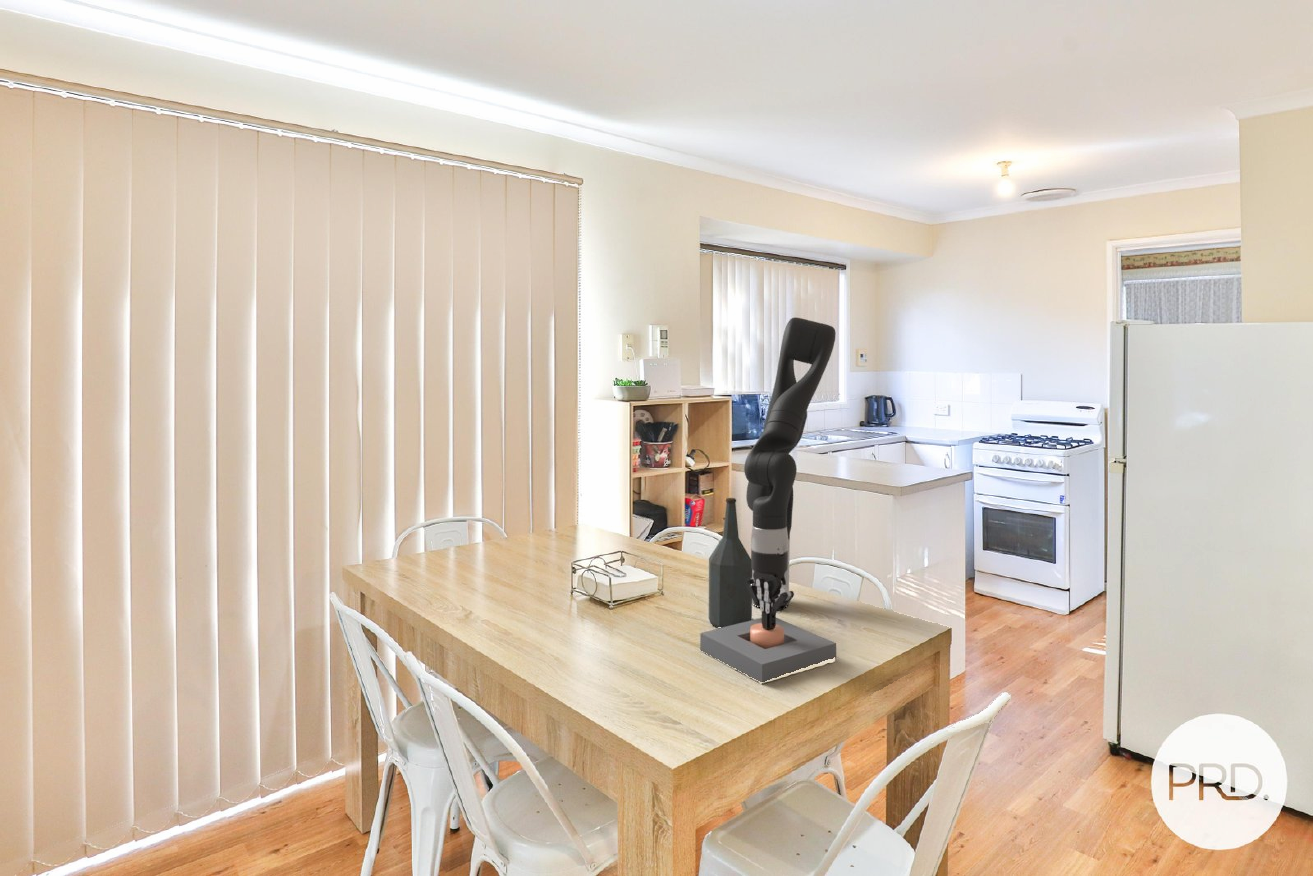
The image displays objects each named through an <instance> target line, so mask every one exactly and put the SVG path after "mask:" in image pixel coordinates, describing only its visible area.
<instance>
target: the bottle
mask: <svg viewBox="0 0 1313 876" xmlns="http://www.w3.org/2000/svg"><path fill="white" fill-rule="evenodd" d="M725 502H726V503H725V505H726V506H725V513H724V521H723V533H722V538H720V540H719V542H718V544H717V545H716V546H715V549H714V550H713V551H712V552H711V555H710V556H709V558H708V620H709V623H710V624H712V625H714V626H716V627H715V628H717V627H721V628H722V627H727V626H731V625H735V624H739V623H743V622H747V621H751V620H753V619H752V618H753V617H752V616H753V604H752V597H751V594H750V592H749V590H748V587H747V585H746V580H747V579H751V578H752V568H751V555H749V553H748V551H747V549H746V548H745V546H744V544H743V543H742V541H741V540H740V538H739V527H738V517H737V505H736V503H737V499H736V498H734V497H726V499H725ZM712 625H711V626H712ZM714 626H713V627H714Z"/></svg>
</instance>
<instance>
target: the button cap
mask: <svg viewBox="0 0 1313 876" xmlns="http://www.w3.org/2000/svg"><path fill="white" fill-rule="evenodd" d="M750 642H751V643H753V644H755V645H757V646H759V647H761V648H763V649H768V648H771V647H775V646H779V645H782V644H784V628H783V627H782V626H780V625H777V624H776V626H775V628H774V629H772V630H766V629H764V628H763V627H762V623H758V624H754V625H752V626H751V627H750Z"/></svg>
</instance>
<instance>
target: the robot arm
mask: <svg viewBox="0 0 1313 876" xmlns="http://www.w3.org/2000/svg"><path fill="white" fill-rule="evenodd" d="M835 342H836V329H835V328H834V326H832V325H830V324H826V323H822V322H818V321H813V320H809V319H805V318H801V317H792V318H790V319H789V320H788V322H787V323H786V326H785V329H784V331H783V335H782V339H781V345H780V351H779V352H780V353H779V357H778V358H779V359H778V365H777V369H776V376H775V380H774V381H775V382H774V385H773V389H772V393H771V396H770V400H769V404H768V408H767V412H766V416H765V420H764V425H763V431H762V433H761V435H760V436H759V437H758V439H757V440H756V443H754V445H753V447H752V448H751V449H750V451H749V453H748V455H747V457H746V458H745V462H744V465H743V466H744V469H743V471H744V476H745V478H746V480H747V481H748V483H747V487H746V496H745V497H746V505H747V507H748V508H749V510H751V511H752V528H751V529H752V530H751V537H750V539H751V541H750V543H751V544H750V547H751V548H750V551H751V552H750V558H751V568H752V578H751V579H747V580H746V585H747V587H748V590H749V592H750V594H751V597H752V605H753V604H754V605H756V606H758V607H760V608H759V609H760V611H761V618H762V627H763V628H764V629H766V630H772V629H774V628H775V626H776V618H777V613H778V612H782V611H784V610H785V609H786V608H787V607H786V606H787V605H788V604H790V602H791V600H792V599H793V598H794V596H795V593H794V591H793V590H790V553H791V552H790V547H791V546H790V545H791V542H790V540H791V537H790V536H791V530H792V523H793V509H794V488H793V486H794V483H795V482H796V481H795V480H796V477H797V473H798V472H797V470H798V469H797V464H796V460H795V459H794V457H793V456H792V455H791V454H790V453H791V452H792V451H793V450H794V449H795V448H796V447H797V445H798V444H799V443H800V441H801V440H802V437H803V434H804V430H805V426H806V422H807V418H808V408H809V405H810V403H811V401H812V400H813V397H814V395H815V393H816V391H817V389H818V387H819V384H820V382H821V380H822V378H823V376H824V373H825V370H826V368H827V366H828V363H829V361H830V358H831V357H832V353H833V351H834V350H833V349H834V346H835ZM794 361H797V362H800V363H804V364H807V365H808V364H809V365H810V367H809V369H808V370H807V372H806V373H805V374H804V375H803V376H802V377H801V378H800V379H799V380H798V381H797V379H796V375H795V362H794ZM754 605H753V606H754ZM788 606H789V605H788ZM758 607H757V608H758ZM785 607H786V608H785Z"/></svg>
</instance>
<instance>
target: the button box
mask: <svg viewBox="0 0 1313 876" xmlns="http://www.w3.org/2000/svg"><path fill="white" fill-rule="evenodd" d="M758 623H762V617H760V618H755V619H752V620H751V621H747V622H743V623H739V624H735V625H731V626H727V627H722V628H714V629H711V630H707V631H702V632H700V633H699V635H700V636H699V637H700V638H699V640H700V642H699V643H700V644H699V646H700V647H699V649H700V650H701V651H703V652H705V653H707V654H708V655H707V654H706V655H707V656H709V655H711V656H712V657H714V658H716V659H719V660H720V661H722V662H724V663H725V664H728V665H729V666H731V667H733V668H736V669H737V670H739V671H741V672H742V673H745V674H747V675H748V676H749V677H752V678H754V679H756V680H758V681H760V682H765V681H767V680H770V679H772V678H777V677H779V676H781V675H784V674H786V673H791V672H794V671H796V670H799V669H801V668H806V667H808V666H810V665H813V664H818V663H820V662H822V661H825V660H828V659H833V658H834V657H836V658H837V642H835V641H833V640H831V639H828V638H825V637H823V636H821V635H818V634H816V633H813V632H812V631H808V630H806V629H804V628H803V627H800V626H797V625H794V624H792V623H790V622H787V621H785V620H783V619H781V618H778V617H776V624H777V625H780V626H782V627H783V628H784V644H782V645H779V646H775V647H771V648H768V649H763V648H761V647H759V646H757V645H755V644H753V643H751V642H750V627H751V626H752V625H754V624H758ZM701 651H700V652H701ZM703 652H702V653H703ZM705 653H704V654H705ZM712 657H711V658H712ZM714 658H713V659H714ZM716 659H715V660H716ZM720 661H719V662H720ZM725 664H724V665H725ZM729 666H728V667H729ZM731 667H730V668H731ZM742 673H741V674H742ZM749 677H748V678H749Z"/></svg>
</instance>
